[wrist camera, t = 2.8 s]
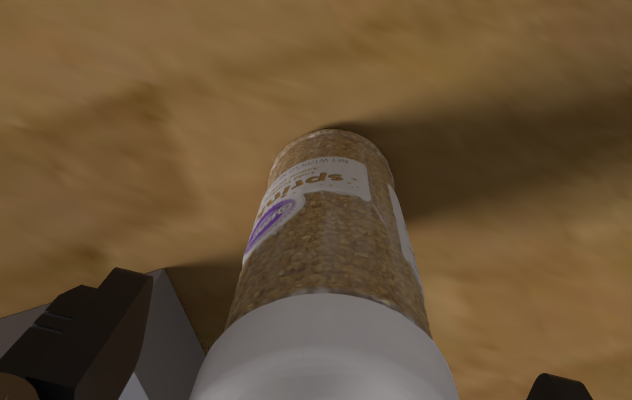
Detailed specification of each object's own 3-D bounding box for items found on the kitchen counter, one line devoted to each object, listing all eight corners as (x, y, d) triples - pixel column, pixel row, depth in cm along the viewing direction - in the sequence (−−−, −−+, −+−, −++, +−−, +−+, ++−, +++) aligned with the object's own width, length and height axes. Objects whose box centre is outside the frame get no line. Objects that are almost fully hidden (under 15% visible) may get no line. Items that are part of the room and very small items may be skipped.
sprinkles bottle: (304, 102, 20) (251, 303, 8) (419, 164, 21) (544, 444, 8) (245, 212, 22) (121, 532, 9) (354, 267, 22) (378, 636, 10)
